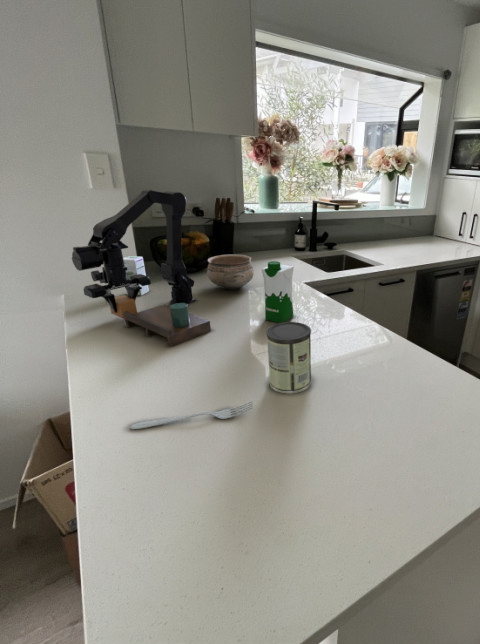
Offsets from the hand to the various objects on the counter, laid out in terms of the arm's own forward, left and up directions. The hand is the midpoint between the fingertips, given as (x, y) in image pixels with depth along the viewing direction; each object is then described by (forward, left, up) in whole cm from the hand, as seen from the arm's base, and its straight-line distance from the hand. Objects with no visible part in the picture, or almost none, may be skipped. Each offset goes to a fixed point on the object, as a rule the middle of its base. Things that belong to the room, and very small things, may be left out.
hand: (123, 310), depth 125 cm
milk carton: (-32, +40, -3) cm, 51 cm away
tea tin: (-4, +25, 0) cm, 26 cm away
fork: (+20, +63, -4) cm, 66 cm away
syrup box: (-17, -22, -3) cm, 28 cm away
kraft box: (0, 0, -1) cm, 1 cm away
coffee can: (-3, +70, -4) cm, 70 cm away
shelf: (-4, +18, -3) cm, 19 cm away
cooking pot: (-45, +1, -3) cm, 45 cm away
